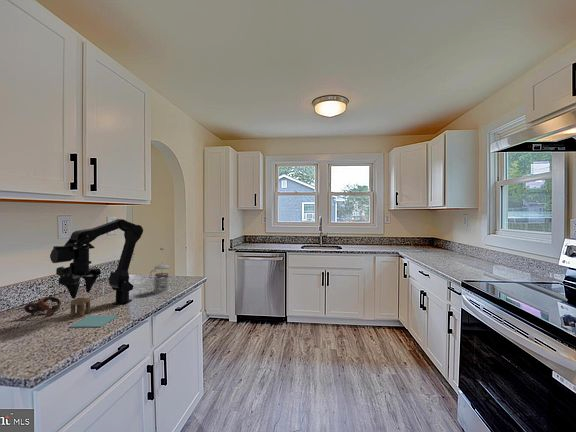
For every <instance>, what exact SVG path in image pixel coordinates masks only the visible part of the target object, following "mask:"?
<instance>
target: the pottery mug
mask: <svg viewBox="0 0 576 432" xmlns="http://www.w3.org/2000/svg"><path fill="white" fill-rule="evenodd" d="M48 301H51V302H52V303H57V304H56V305H52V306H51V307H50V305H49V304H46V303H47V302H48ZM61 304H62V302H61V300H60V299H59V298H58V297H54V296H45V297H42V298H41V299H40V300H38V301H37V302H29V303H27V304H25V306H24V307H23V309H24V311H25V312H26V313H28V314H30V315H31V316H34V315H35V314H36V313H39V312H45V311H46V313H45V317H46V316H47V317H50V316H51V315H52V314H54V313H56V312H57V311H59V310H60V309H61ZM30 308H31V309H30Z"/></svg>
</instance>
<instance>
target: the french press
mask: <svg viewBox="0 0 576 432" xmlns="http://www.w3.org/2000/svg"><path fill="white" fill-rule="evenodd" d="M163 250H164V247H160V251H163ZM169 268H170V266H169V265H167V264H163V263H161V264H157V265H156V266H154V267H153V269H152V270H151V271H150V272H149V277H148V278H149V280H150V281H152V280H153V281H152V283H153V290H152V292H153V293H152V294H165V293H169V292H171V289H170V276H169V273H168V272H164V273H163V272H159V273H158V272H157V270H166V269H167V270H168V269H169ZM153 272H154V273H155V274H154V278H153V277H152V276H151V275H152V274H153Z"/></svg>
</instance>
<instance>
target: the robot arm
mask: <svg viewBox="0 0 576 432" xmlns="http://www.w3.org/2000/svg"><path fill="white" fill-rule="evenodd" d="M118 229H119V230H120V231H123V232H124V233H123V237H124V244H123V247H122V251H121V254H120V258H119V261H118V265H117V268H116V269H115V270H114V271H111V272H110V274H109V278H108V279H107V280H108V285H109V286H110V287H111V289H112V290H113V291H115V301H114V302H112V305H127V304H129V303H130V302H132V301H133V299H131V298H130V291H133V289H134V284H132V283H131V282H130V274H129V268H130V266H131V261H132V257H133V253H134V251H135V246H136V244H137V242H138V241H139V240H140V239H141V238H142V236H143V233H144V228H143V226H142V225H140V224H135V223H133V222H130V221H128V220H125V219H124V218H123V219H122V218H117V219H115V220H112V221H110V222H109V221H108V222H106V223H103V224H101V225H98V226H96V227H92V228H88V229H87V228H86V229H80V230H75V231H73V232H72V233H71V235H70V237H69V239H68V240H67V241H66V243H65V244H64V245H61V246H59V245H54V246H53V248H52V250H51V252H50V254H49V258H50V262H52V264H59V263H60V264H61V263H65V262H66V263H67V262H70V263H69V266H67V267H64V266H63V265H62V266H59V267H57V268H56V269H55V272H56V273H55V274H56V275H57V276H59V278H58V285H61V286H65V287H66V289H67V290H68V293H69V295H70V298H71V299H73V300H75V299H76V297H77V295H78V290H79V287H80V284H81V282H80V281H81V279H83V280H84V283H85V284H84V285H85V292H86V293H90V292H91V290H92V288H93V285H95V283H96V281H97V279H98V277H99V276H100V275H101V273H102V271H101V269H100V268H94V267H92V268H91V267H90V264H92V260H90V249H95V248H96V247H95V246H94V245H93V244H92V242H93V241H95V240H96V239H97V238H98V237H100V236H103V235H105V234H109V233H111V232H112V231H115V230H118Z"/></svg>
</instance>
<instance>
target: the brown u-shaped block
mask: <svg viewBox="0 0 576 432" xmlns="http://www.w3.org/2000/svg"><path fill="white" fill-rule="evenodd" d="M90 313H91V298H90V297H78V298H74V299H73V300H71V301H70V317H72V318H74V317H76V314H79V318H81V317H85V314H87V315H89V314H90Z"/></svg>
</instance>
